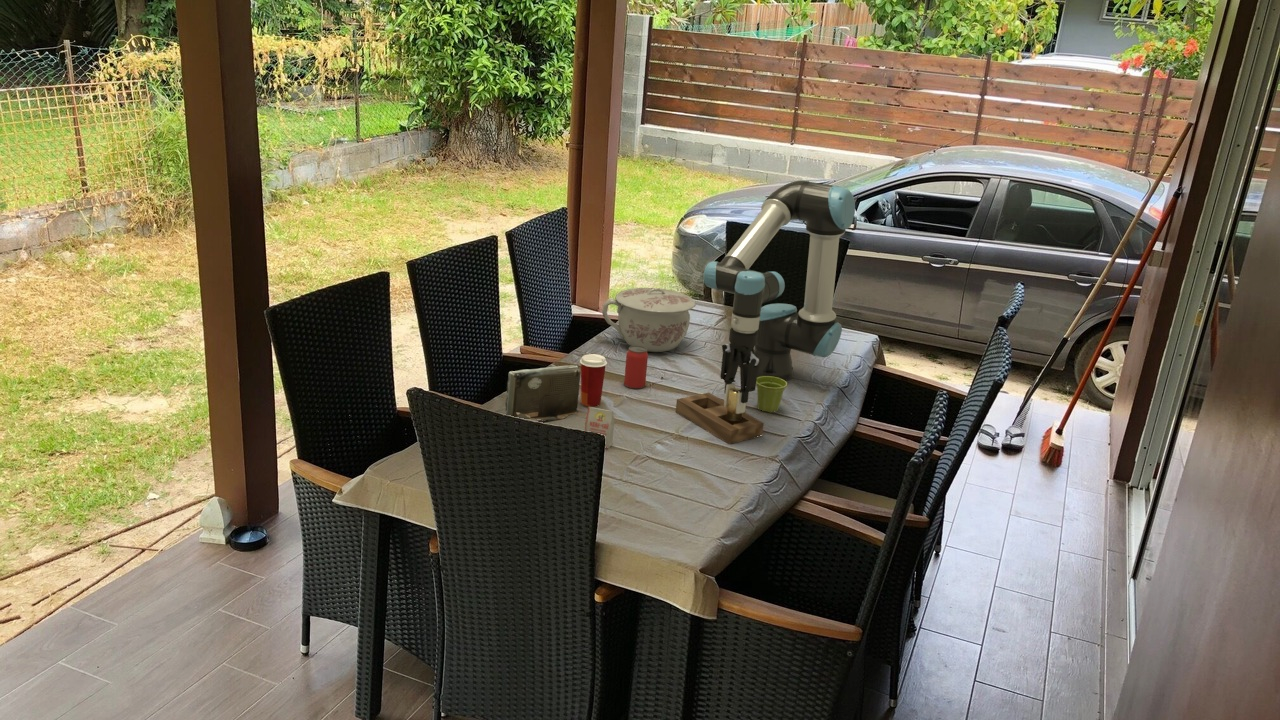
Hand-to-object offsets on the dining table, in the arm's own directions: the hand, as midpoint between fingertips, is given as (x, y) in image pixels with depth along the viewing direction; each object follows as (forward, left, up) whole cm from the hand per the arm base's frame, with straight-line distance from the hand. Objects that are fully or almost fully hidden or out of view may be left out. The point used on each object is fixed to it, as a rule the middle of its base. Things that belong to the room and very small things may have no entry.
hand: (734, 409), depth 268 cm
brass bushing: (0, 0, -3) cm, 3 cm away
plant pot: (-21, -8, -7) cm, 24 cm away
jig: (0, -6, -7) cm, 9 cm away
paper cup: (+25, -34, -7) cm, 43 cm away
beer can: (+5, -40, -7) cm, 41 cm away
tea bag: (+38, -10, -7) cm, 40 cm away
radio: (+42, -33, -7) cm, 54 cm away
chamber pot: (-22, -68, -7) cm, 72 cm away
